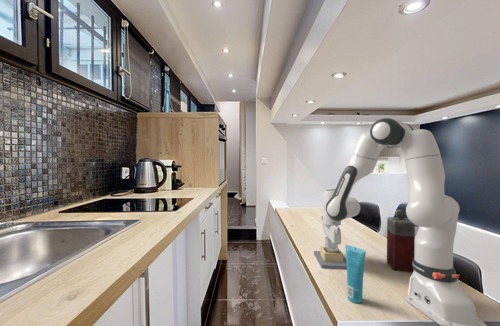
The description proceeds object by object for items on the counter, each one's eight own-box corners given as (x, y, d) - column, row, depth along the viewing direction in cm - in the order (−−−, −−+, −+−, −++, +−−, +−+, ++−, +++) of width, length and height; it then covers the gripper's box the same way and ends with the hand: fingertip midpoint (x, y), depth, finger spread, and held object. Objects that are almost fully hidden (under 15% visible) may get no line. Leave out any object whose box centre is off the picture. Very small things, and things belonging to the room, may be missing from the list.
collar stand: (351, 269, 109) (351, 257, 109) (321, 268, 110) (321, 256, 110) (339, 254, 127) (339, 244, 127) (313, 253, 128) (313, 243, 128)
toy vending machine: (404, 262, 118) (404, 207, 118) (414, 272, 107) (415, 212, 107) (384, 260, 120) (385, 207, 120) (393, 270, 109) (394, 211, 109)
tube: (367, 300, 84) (368, 248, 84) (363, 306, 80) (363, 251, 80) (346, 293, 89) (347, 243, 89) (341, 298, 85) (342, 246, 86)
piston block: (337, 260, 116) (338, 240, 116) (327, 259, 116) (327, 240, 116) (334, 256, 121) (335, 237, 121) (325, 256, 121) (325, 237, 121)
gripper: (344, 225, 108) (344, 255, 108) (332, 216, 129) (332, 241, 128) (331, 225, 109) (330, 254, 108) (320, 215, 129) (320, 240, 129)
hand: (331, 247), depth 119 cm, fingers open, 5 cm apart
